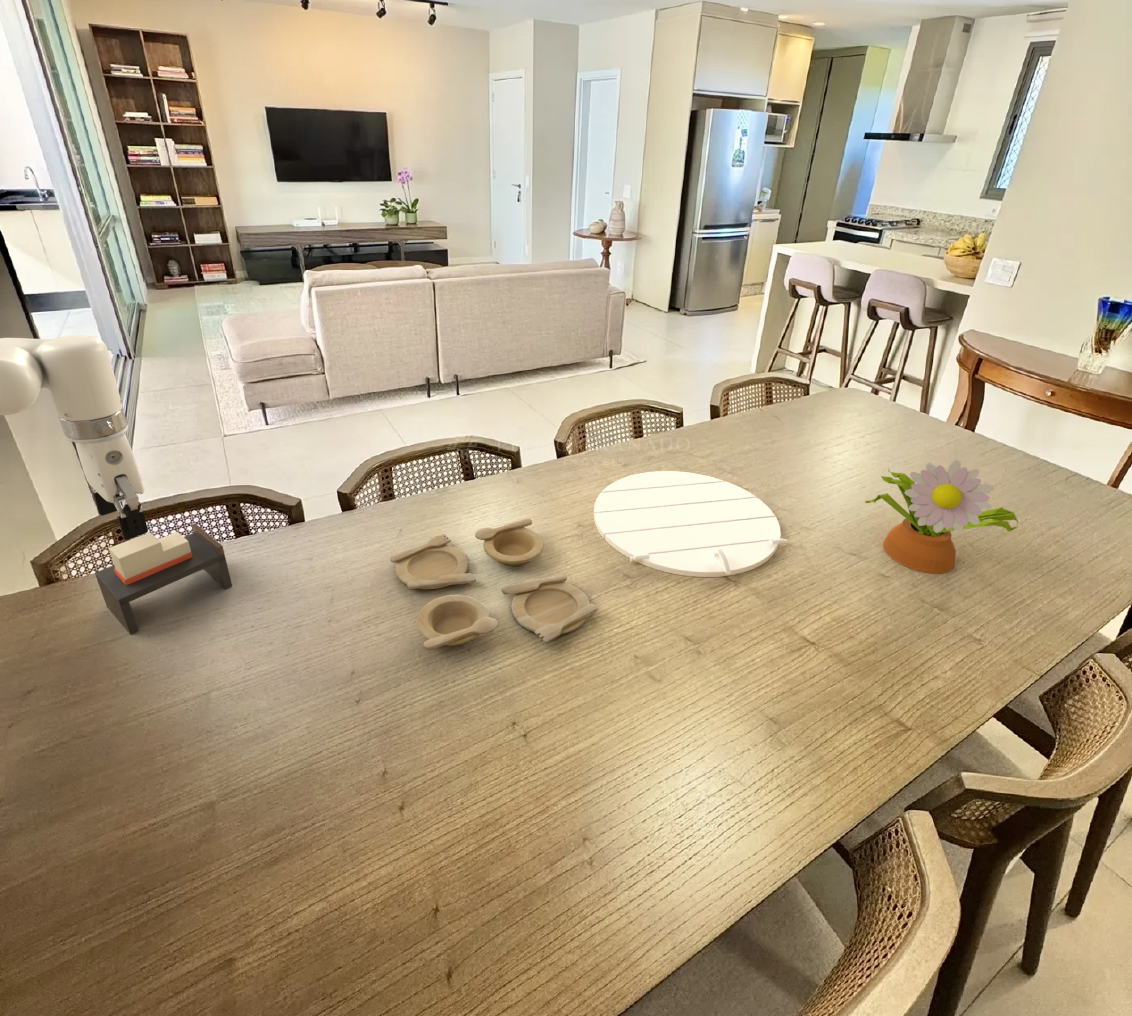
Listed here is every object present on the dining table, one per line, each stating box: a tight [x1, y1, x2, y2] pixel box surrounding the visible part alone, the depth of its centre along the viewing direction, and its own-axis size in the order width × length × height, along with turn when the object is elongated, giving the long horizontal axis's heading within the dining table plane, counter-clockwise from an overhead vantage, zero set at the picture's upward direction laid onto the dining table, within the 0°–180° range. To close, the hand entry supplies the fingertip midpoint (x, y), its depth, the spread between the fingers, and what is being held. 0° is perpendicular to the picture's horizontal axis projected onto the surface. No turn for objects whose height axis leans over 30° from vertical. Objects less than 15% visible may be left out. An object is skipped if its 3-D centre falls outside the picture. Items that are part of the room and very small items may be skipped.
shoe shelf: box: [94, 523, 233, 636], centre depth 106 cm, size 16×10×9 cm, turn 141°
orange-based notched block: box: [108, 531, 193, 585], centre depth 103 cm, size 10×4×5 cm, turn 141°
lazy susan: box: [593, 470, 789, 578], centre depth 135 cm, size 40×39×3 cm
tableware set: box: [389, 518, 598, 651], centre depth 112 cm, size 35×29×4 cm
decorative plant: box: [864, 459, 1020, 575], centre depth 123 cm, size 27×24×25 cm
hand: (123, 523), depth 99 cm, fingers open, 9 cm apart
